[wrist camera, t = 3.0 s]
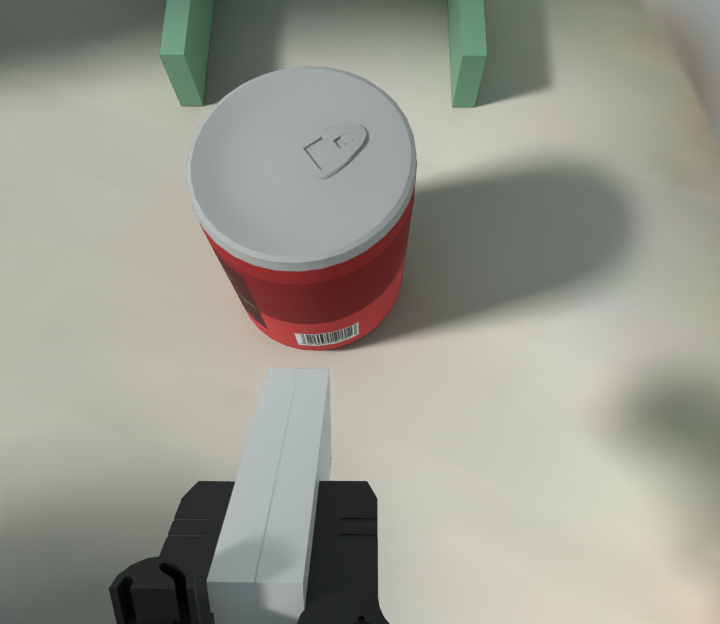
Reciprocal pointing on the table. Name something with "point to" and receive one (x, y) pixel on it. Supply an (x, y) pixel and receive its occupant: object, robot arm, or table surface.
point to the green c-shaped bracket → (193, 29)
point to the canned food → (307, 201)
